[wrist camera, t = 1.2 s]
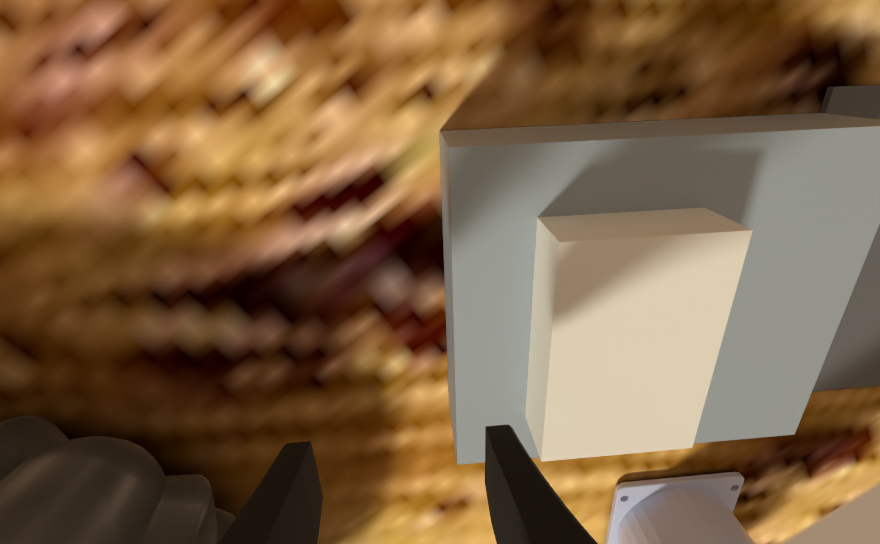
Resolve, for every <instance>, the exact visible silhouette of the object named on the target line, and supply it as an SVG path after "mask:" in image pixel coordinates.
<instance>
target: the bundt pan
mask: <svg viewBox="0 0 880 544" xmlns="http://www.w3.org/2000/svg"><path fill="white" fill-rule="evenodd" d="M235 518H236V517H235V516H234V515H233V514H231V513H229V512H227V511H225V510H222V509H218V508H215V505H214V498H213V492H212V488H211V483H210V482H209V481H208V479H207V478H206V477H204V476H202V475H198V474H192V475H173V476H165V474H164V472H163V469H162V468H161V466H160V465H159V463H158V462H157V461H156V459H155V458H154V457H153V456H152V455H151V454H150V453H149V452H147V451H146V450H145V449H143V448H142V447H141V446H139V445H137V444H134V443H132V442H130V441H127V440H124V439H119V438H115V437H106V436H94V437H82V438H76V439H71V440H69V439H68V438H67V437H66V436H65V435H64V434H63V432H62V431H61V430H60V429H59V428H58V427H57V426H56V425H55V424H54V423H52V422H51V421H50V420H47V419H44V418H41V417H37V416H20V417H14V418H11V419H8V420H4V421H1V422H0V544H216V543H217V542H218V541H219V539H220V538H221V537H222V535H223V534H224V533H225V532H226V530H227V529H228V528H229V526H230V525H231V524H232V522H233V521H234V520H235Z"/></svg>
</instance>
